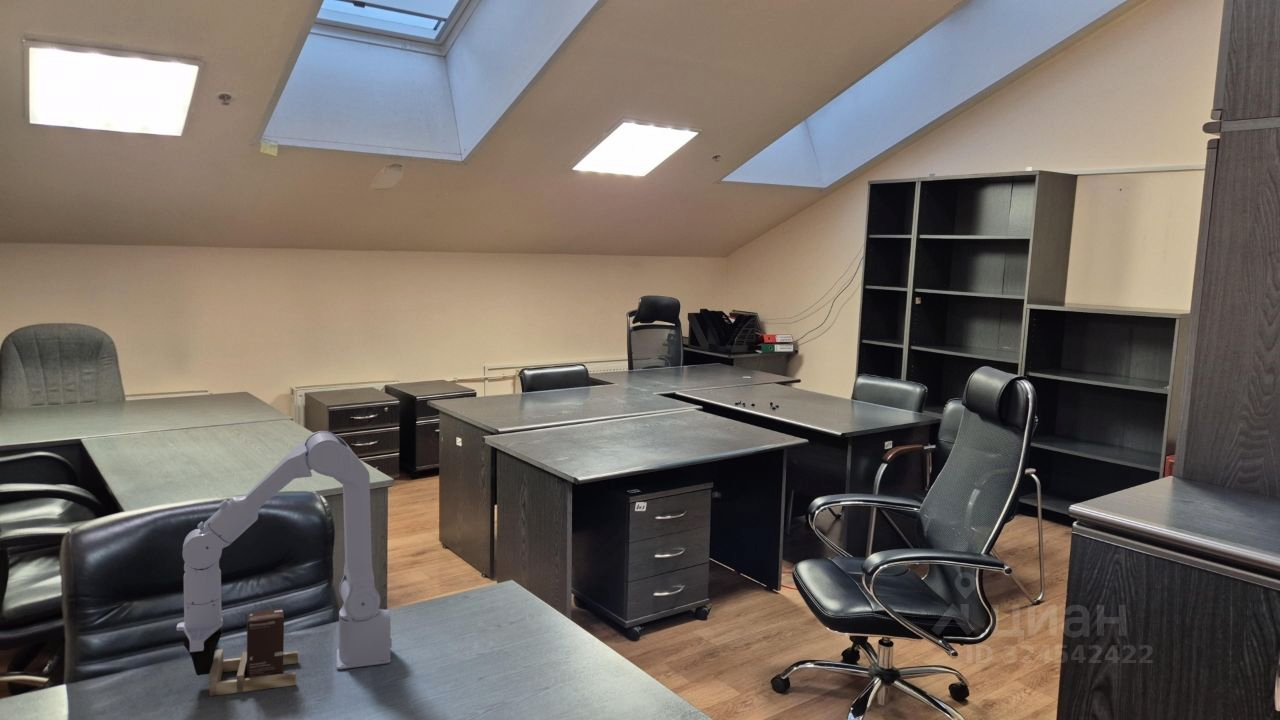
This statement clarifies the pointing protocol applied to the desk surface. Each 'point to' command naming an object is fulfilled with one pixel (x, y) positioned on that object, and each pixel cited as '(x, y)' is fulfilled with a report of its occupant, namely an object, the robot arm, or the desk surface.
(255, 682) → the wooden slat rack
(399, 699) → the desk surface
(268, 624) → the box
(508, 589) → the desk surface
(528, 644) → the desk surface
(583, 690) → the desk surface
